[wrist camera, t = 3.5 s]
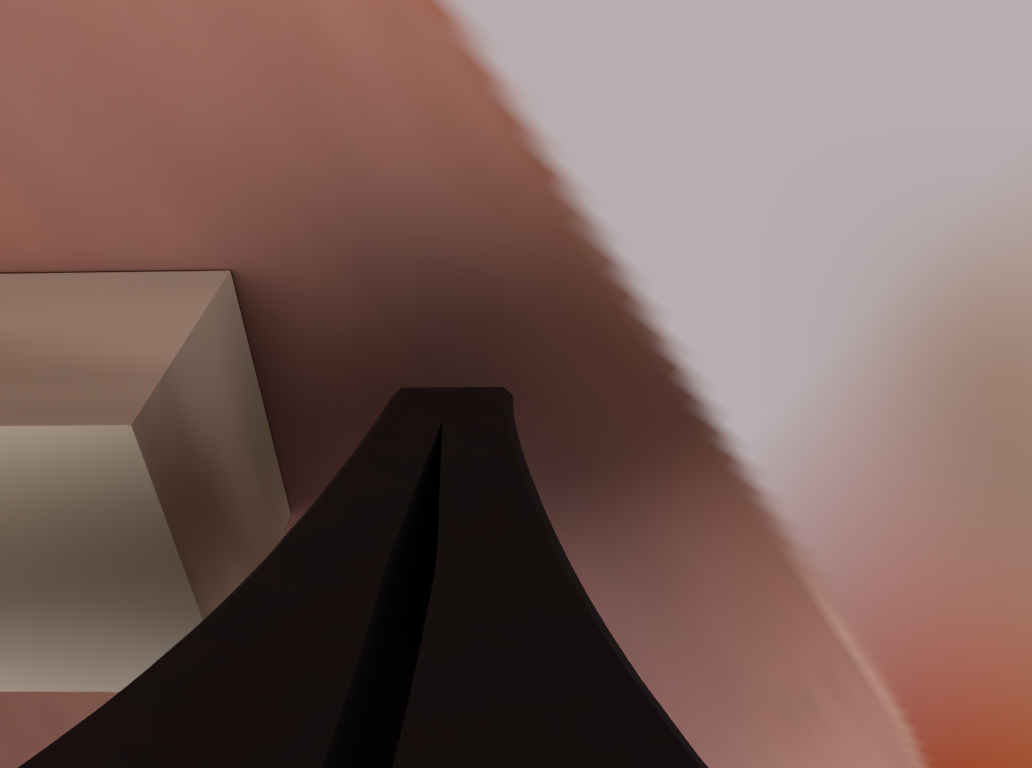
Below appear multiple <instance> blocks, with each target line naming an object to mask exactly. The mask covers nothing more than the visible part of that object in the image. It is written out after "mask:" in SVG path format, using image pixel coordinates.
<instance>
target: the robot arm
mask: <svg viewBox="0 0 1032 768" xmlns="http://www.w3.org/2000/svg"><path fill="white" fill-rule="evenodd" d="M18 768H708V767H707V766H706V764H705V763H704V762H703V761H702V760H701V758H700V757H699V756H698V755H697V753H696V752H695V751H694V749H693V748H692V747H691V745H690V744H689V743H688V741H687V740H686V739H685V737H684V736H683V735H682V733H681V732H680V731H679V729H678V728H677V727H676V725H675V724H674V723H673V721H672V720H671V719H670V717H669V716H668V715H667V713H666V712H665V711H664V709H663V708H662V707H661V705H660V704H659V703H658V701H657V700H656V699H655V697H654V696H653V695H652V693H651V692H650V691H649V689H648V688H647V686H646V685H645V684H644V682H643V681H642V680H641V678H640V677H639V675H638V674H637V673H636V671H635V670H634V668H633V667H632V665H631V664H630V662H629V661H628V659H627V657H626V656H625V654H624V653H623V651H622V650H621V648H620V647H619V645H618V644H617V642H616V641H615V639H614V638H613V636H612V635H611V633H610V632H609V630H608V628H607V627H606V625H605V623H604V622H603V620H602V618H601V617H600V615H599V613H598V612H597V610H596V609H595V607H594V605H593V604H592V602H591V600H590V598H589V597H588V595H587V593H586V591H585V590H584V588H583V586H582V584H581V583H580V581H579V579H578V577H577V575H576V573H575V571H574V570H573V568H572V566H571V564H570V562H569V560H568V558H567V556H566V554H565V552H564V550H563V548H562V546H561V544H560V542H559V540H558V538H557V536H556V534H555V532H554V530H553V527H552V525H551V523H550V521H549V519H548V516H547V514H546V512H545V510H544V507H543V505H542V502H541V500H540V497H539V495H538V492H537V490H536V487H535V485H534V483H533V480H532V478H531V475H530V472H529V469H528V467H527V464H526V461H525V458H524V454H523V451H522V448H521V444H520V441H519V438H518V434H517V429H516V425H515V420H514V413H513V395H512V394H511V393H509V392H508V391H507V390H506V389H505V388H504V387H450V388H401V389H400V390H399V391H398V392H397V393H396V394H395V395H393V397H392V398H391V400H390V401H389V403H388V404H387V406H386V407H385V409H384V410H383V412H382V413H381V415H380V416H379V418H378V419H377V421H376V422H375V423H374V425H373V426H372V428H371V429H370V431H369V432H368V433H367V435H366V436H365V438H364V439H363V440H362V442H361V443H360V444H359V446H358V447H357V449H356V450H355V451H354V453H353V454H352V455H351V457H350V458H349V459H348V461H347V462H346V463H345V465H344V466H343V467H342V468H341V470H340V471H339V472H338V473H337V475H336V476H335V477H334V478H333V480H332V481H331V482H330V483H329V485H328V486H327V487H326V489H325V490H324V491H323V492H322V494H321V495H320V496H319V497H318V499H317V500H316V501H315V502H314V504H313V505H312V506H311V507H310V508H309V510H308V511H307V512H306V513H305V514H304V515H303V516H302V518H301V519H300V520H299V521H298V522H297V523H296V524H295V525H294V527H293V528H292V529H291V530H290V531H289V532H288V533H287V534H286V536H285V537H284V538H283V539H282V540H281V541H280V542H279V543H278V545H277V546H276V547H275V548H274V549H273V550H272V551H271V552H270V554H269V555H268V556H267V557H266V558H265V559H264V560H263V561H262V562H261V563H260V564H259V565H258V566H257V568H256V569H255V570H254V571H253V572H252V573H251V574H250V575H249V576H248V577H247V578H246V579H245V580H244V581H243V582H242V583H241V584H240V585H239V586H238V587H237V588H236V589H235V590H234V591H233V592H232V593H231V594H230V595H229V596H228V597H227V598H226V599H225V600H224V601H223V602H222V603H221V604H219V605H218V606H217V607H216V608H215V609H214V610H213V611H212V612H211V613H210V614H209V615H208V616H207V617H206V618H205V619H204V620H203V621H201V622H200V623H199V624H198V625H197V626H196V627H195V628H194V629H193V630H192V631H191V632H190V633H188V634H187V635H186V636H185V637H184V638H183V639H181V640H180V641H179V642H178V643H177V644H176V645H174V646H173V647H172V648H171V649H170V650H169V651H168V652H166V653H165V654H164V655H163V656H162V657H161V658H159V659H158V660H157V661H156V662H155V663H154V664H153V665H151V666H150V667H149V668H148V669H147V670H146V671H144V672H143V673H142V674H141V675H140V676H138V677H137V678H136V679H135V680H133V681H132V682H131V683H130V684H129V685H127V686H126V687H125V688H124V689H123V690H121V691H120V692H119V693H118V694H117V695H115V696H114V697H113V698H112V699H110V700H109V701H108V702H106V703H105V704H104V705H103V706H101V707H100V708H99V709H98V710H96V711H95V712H94V713H92V714H91V715H90V716H88V717H87V718H85V719H84V720H83V721H81V722H80V723H79V724H77V725H76V726H75V727H73V728H72V729H71V730H69V731H68V732H66V733H65V734H64V735H62V736H61V737H60V738H58V739H57V740H56V741H54V742H53V743H52V744H50V745H49V746H48V747H46V748H45V749H43V750H42V751H41V752H39V753H38V754H37V755H35V756H34V757H32V758H31V759H30V760H28V761H27V762H25V763H24V764H22V765H21V766H20V767H18Z"/></svg>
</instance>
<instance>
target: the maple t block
mask: <svg viewBox="0 0 1032 768" xmlns="http://www.w3.org/2000/svg"><path fill="white" fill-rule="evenodd" d="M290 515H291V513H290V509H289V505H288V501H287V497H286V493H285V489H284V485H283V481H282V477H281V473H280V469H279V465H278V461H277V457H276V453H275V449H274V445H273V440H272V436H271V432H270V428H269V424H268V420H267V416H266V412H265V408H264V404H263V400H262V396H261V392H260V388H259V384H258V380H257V376H256V372H255V368H254V364H253V360H252V356H251V352H250V348H249V344H248V340H247V336H246V332H245V328H244V324H243V320H242V316H241V312H240V308H239V304H238V300H237V296H236V292H235V288H234V284H233V280H232V276H231V272H230V271H170V272H98V273H27V274H0V692H120V691H121V690H123V689H124V688H125V687H126V686H127V685H129V684H130V683H131V682H132V681H133V680H135V679H136V678H137V677H138V676H140V675H141V674H142V673H143V672H144V671H146V670H147V669H148V668H149V667H150V666H151V665H153V664H154V663H155V662H156V661H157V660H158V659H159V658H161V657H162V656H163V655H164V654H165V653H166V652H168V651H169V650H170V649H171V648H172V647H173V646H174V645H176V644H177V643H178V642H179V641H180V640H181V639H183V638H184V637H185V636H186V635H187V634H188V633H190V632H191V631H192V630H193V629H194V628H195V627H196V626H197V625H198V624H199V623H200V622H201V621H203V620H204V619H205V618H206V617H207V616H208V615H209V614H210V613H211V612H212V611H213V610H214V609H215V608H216V607H217V606H218V605H219V604H221V603H222V602H223V601H224V600H225V599H226V598H227V597H228V596H229V595H230V594H231V593H232V592H233V591H234V590H235V589H236V588H237V587H238V586H239V585H240V584H241V583H242V582H243V581H244V580H245V579H246V578H247V577H248V576H249V575H250V574H251V573H252V572H253V571H254V570H255V569H256V568H257V566H258V565H259V564H260V563H261V562H262V561H263V560H264V559H265V558H266V557H267V556H268V555H269V554H270V552H271V551H272V550H273V549H274V548H275V547H276V546H277V545H278V543H279V542H280V541H281V540H282V538H283V535H284V532H285V529H286V526H287V523H288V520H289V517H290Z"/></svg>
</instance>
